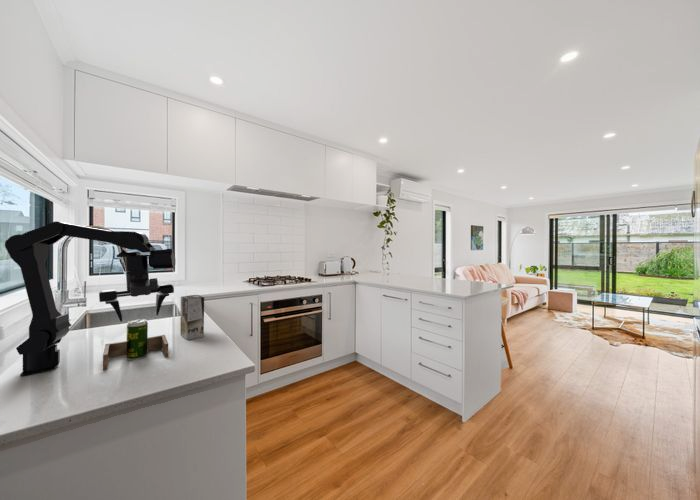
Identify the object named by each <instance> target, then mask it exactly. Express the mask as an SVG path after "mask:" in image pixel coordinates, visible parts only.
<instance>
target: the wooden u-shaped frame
mask: <svg viewBox="0 0 700 500" xmlns="http://www.w3.org/2000/svg"><path fill="white" fill-rule="evenodd" d="M155 350H161V351H162V355H163V357H164V358H168V357H169V342H168V340H167V336H166V335H165V334H161V335H156V336H155V335H154V336H149V337H148V344H147V352H149V351H155ZM126 351H127V340H123V341H119V342H112V343H106V344H105V345H104V349H103V354H102V370H103V371H104V370H108V368H109V361H110V359H111V358H116V357H121V356H126Z"/></svg>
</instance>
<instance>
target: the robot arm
mask: <svg viewBox="0 0 700 500" xmlns="http://www.w3.org/2000/svg"><path fill="white" fill-rule="evenodd" d="M64 237H72V238H78V239H83V240H91V241H98V242H102V243H103V242H104V243H109V244H112V245H115V246H117V247H121V248H123V249H122V250H121V251H120V252H119V253H118V254H117V255H116V257H117V258H125V259H124V260H125V261H124V262H125V276H126V290H118V291H117V289H116V288H115V289H103V290H101V291H99V292H98V297H99V300H98V301H99V302H100V303H103V302H105V305H110V306H111V307H112V308H113V309H114V311H115V313H116V315H117V318H118V319H119V322H120V323H121V322H123V315H122V311H121V306H120V302H119V298H122V297H130V296H131V297H134V298H135V297H136V298H137V297H138V296H149V295H151V294H155V293H156V299H155V316H158V315H159V313H160V310H161V308H162V304H163V302H164V300H165V298H166V297H168V296H170V294H173V293H175V287H174V285H172V284H170V283H161V284H158V282H159V281H158V278H157V277H156V278H155V277H154V278H153V277H152V278H149V277H150V275H149V267H150V268H152V269H153V270H170V269H171V270H172V269H175V268H176V257H175V253H174V248H165V249H156V248H155V246H153V244H151V242H150V240H149V237H148V236H147V234H145V233H143V232H140V231H139V232H138V231H125V230H122V231H120V230H115V231H114V230H109V229H108V230H107V229H101V228H94V227H88V226H83V225H76V224H71V223H68V222H65V221H64V222H63V221H52V222H50V223H48V224H45V225H44V226H40V227H38V228H35V229H31V230H29V231H26V232H24V233H22V234H19V233H18V234H14V235H11V236H10V237H9V238H7V239H6V240H5V242H4V248H5V249H6V251H7V253H8V256H9V258H10V259H12V260H13V261H14V263H16V264H17V266H18V267H19V268H20V271H21V275H22V279H23V282H24V287H25V291H26V295H27V299H28V302H29V306H30V311H31V314H32V317H31V320H30V323H29V326H28V338H26V339H25V340H24V341H23V342H22V343H20V344H19V345H18V346H16V348H15V349H16V351H17V353H18V355H22V372H21V373H20V375H19V376H20V377H23V376H24V377H25V376H30V375H34V374H35V375H36V374H40V373H45V372H50V371H54V370H56V368H57V366H58V365H60V363H61V349H59V348H58V344H60V342H61V341H62V338H65V337H66V336H67V334H68V333H69V332H70V327H71V326H72V324H71V322H70V321H69V314H68V313H64V314H62V313H60V312H59V311H58V309H57V306H56V302H55V299H54V293H53V290H52V287H51V283H50V282H51V281H50V279H49V275H48V269H47V265H46V264H47V260H48V257H49V247H50V246H52V245H54V244H56V243H58V242H59V241H60V240H62V239H63V238H64ZM128 250H131V251H128ZM133 250H136V251H133ZM141 253H147V254H141Z"/></svg>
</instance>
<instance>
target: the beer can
mask: <svg viewBox="0 0 700 500" xmlns="http://www.w3.org/2000/svg"><path fill="white" fill-rule="evenodd" d="M148 325H149V324H148V320H147V319H145V318H140V319H139V318H137V319H133V320H129V321H128V322H127V324H126V341H127V351H126V355H125V356H126V359H127V361H129V362H130V361H131V362H134V361H139V360H143V359H145V358H146V357H147V355H148V351H147V344H148V336H149V335H148V331H149V329H148V328H149V326H148Z"/></svg>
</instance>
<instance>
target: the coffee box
mask: <svg viewBox="0 0 700 500" xmlns="http://www.w3.org/2000/svg"><path fill="white" fill-rule="evenodd" d="M204 326H205V297H204V296H202V295H199V294H191V295H185V296H180V330H179V331H180V336H181V337H183V338H184V339H185V340H187V341H188V340H193V339H194V340H195V339H198V338H203V337H204V335H205V333H204V332H205V330H204V329H205V327H204Z"/></svg>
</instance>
